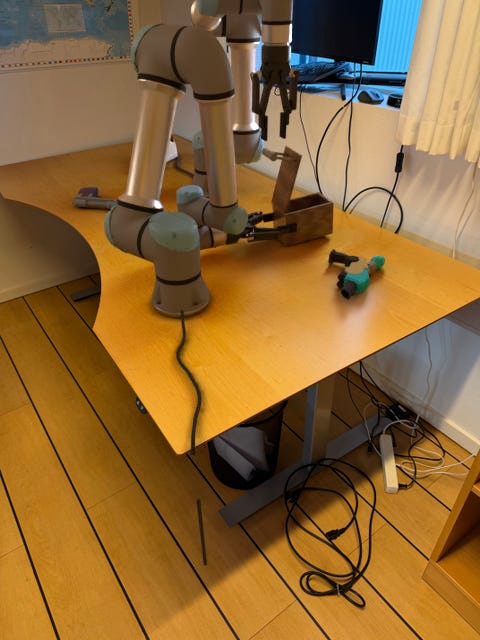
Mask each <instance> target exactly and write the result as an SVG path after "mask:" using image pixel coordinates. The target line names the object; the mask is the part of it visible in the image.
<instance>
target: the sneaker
mask: <svg viewBox="0 0 480 640" xmlns="http://www.w3.org/2000/svg"><path fill="white" fill-rule="evenodd" d="M177 152H178V149H177V144H176V140H175V136H174V135H173V134H171V139H170V145H169V150H168V156H167V161H166V163H168V162H170V161H172V160H175V159H177V156H178V154H177Z"/></svg>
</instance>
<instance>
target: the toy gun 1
mask: <svg viewBox="0 0 480 640" xmlns="http://www.w3.org/2000/svg"><path fill="white" fill-rule="evenodd" d="M99 192H100V191H99V187H98V186H83V187H81V188H79V190H78V192H77V196H74V197H73V200H72V202H71V205H72V204H73V206H75V207H80V208H92V209H104V210H105V209H106V210H111V208H112V207H113V206H115V205H117V203H118V200H115V199H114V198H113V199H111V198H108V197H107V198H104V197H101V198H100V197H99V194H100V193H99Z"/></svg>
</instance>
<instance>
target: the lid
mask: <svg viewBox="0 0 480 640" xmlns="http://www.w3.org/2000/svg"><path fill="white" fill-rule="evenodd" d="M262 156H264V157H265V158H267V159H269V160H270V161H271V162H276V161H277V160H280V161H281V162H280V166H279V170H278V172H277V176H276V181H275V185H274V189H273V194H272V197H271V202H270V203H271V205H272V204H274V205H275V206H276V207H277V208H278V209H279V210H280V211H282V212H283V213H284V214H286V213H287V210H288V206H289V202H290V199H292V194H293V191H294V187H295V183H296V180H297V176H298V173H299V170H300V165H301V161H302V158H303V155H302V154H301V153H299V152H298V151H296V150H294V149H293V148H291V147H289V146H288V145H285V146H284V150H283V152H280V151H274V150H273V151H272V150H270V149H269V148H267V147H264V149H263V150H262Z"/></svg>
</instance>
